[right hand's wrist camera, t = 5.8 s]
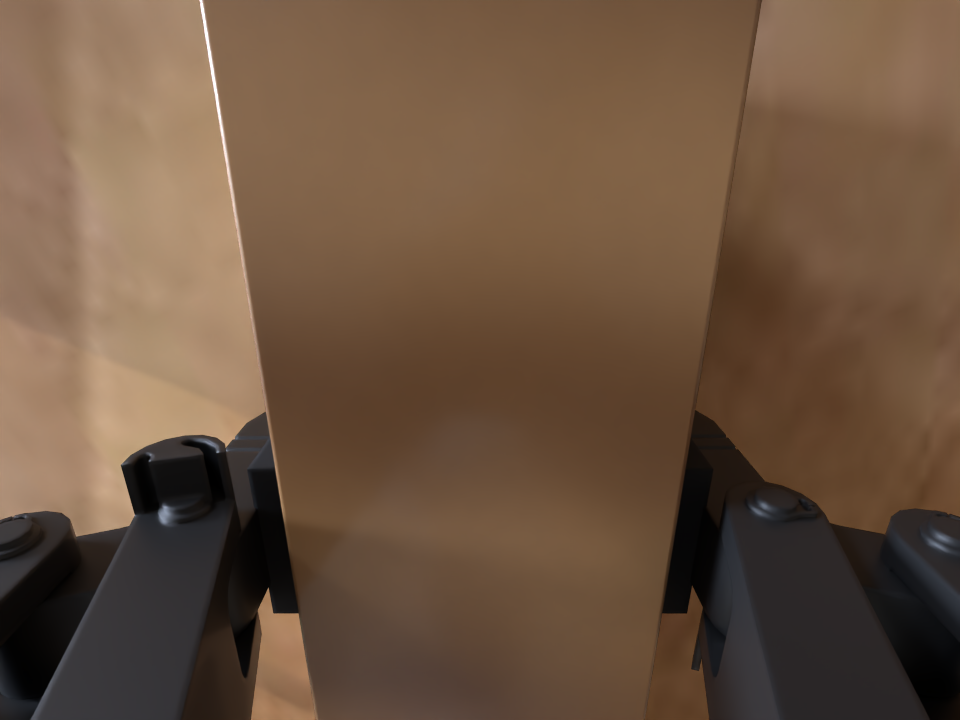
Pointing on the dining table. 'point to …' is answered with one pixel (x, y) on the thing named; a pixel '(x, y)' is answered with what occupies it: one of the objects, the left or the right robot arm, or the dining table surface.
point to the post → (480, 328)
